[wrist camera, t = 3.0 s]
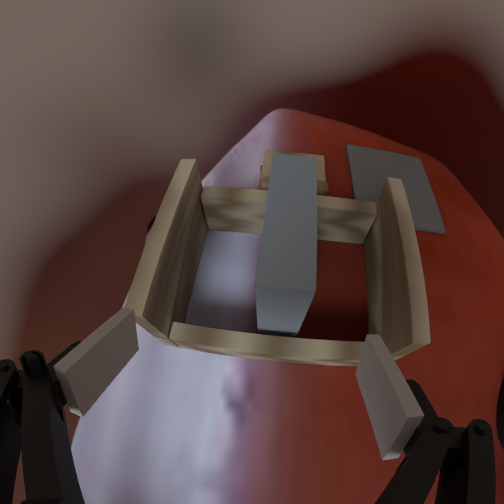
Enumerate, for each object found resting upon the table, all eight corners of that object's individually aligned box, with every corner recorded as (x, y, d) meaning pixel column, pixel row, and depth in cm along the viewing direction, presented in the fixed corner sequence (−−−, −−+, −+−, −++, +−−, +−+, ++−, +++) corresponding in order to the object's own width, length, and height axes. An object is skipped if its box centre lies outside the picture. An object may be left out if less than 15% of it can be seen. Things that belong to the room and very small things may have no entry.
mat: (418, 160, 42) (419, 158, 41) (443, 234, 33) (445, 231, 33) (345, 146, 43) (346, 144, 42) (356, 221, 35) (357, 219, 34)
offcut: (321, 170, 34) (324, 155, 32) (322, 195, 31) (325, 180, 29) (265, 164, 34) (265, 149, 32) (261, 189, 32) (261, 174, 30)
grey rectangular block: (300, 242, 33) (315, 157, 22) (293, 341, 27) (315, 290, 16) (270, 239, 34) (273, 153, 23) (258, 338, 28) (254, 285, 17)
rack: (374, 235, 34) (401, 179, 25) (381, 366, 25) (430, 342, 17) (198, 218, 36) (181, 159, 27) (165, 344, 27) (123, 312, 19)
